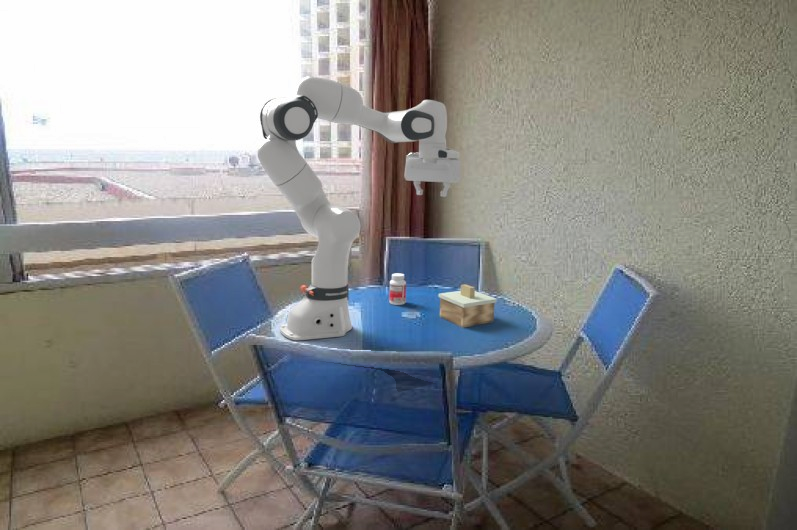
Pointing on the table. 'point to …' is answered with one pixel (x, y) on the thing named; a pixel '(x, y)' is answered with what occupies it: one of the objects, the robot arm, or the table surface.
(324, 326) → the robot arm
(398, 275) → the pill bottle
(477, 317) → the box
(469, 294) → the lid
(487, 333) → the table surface
